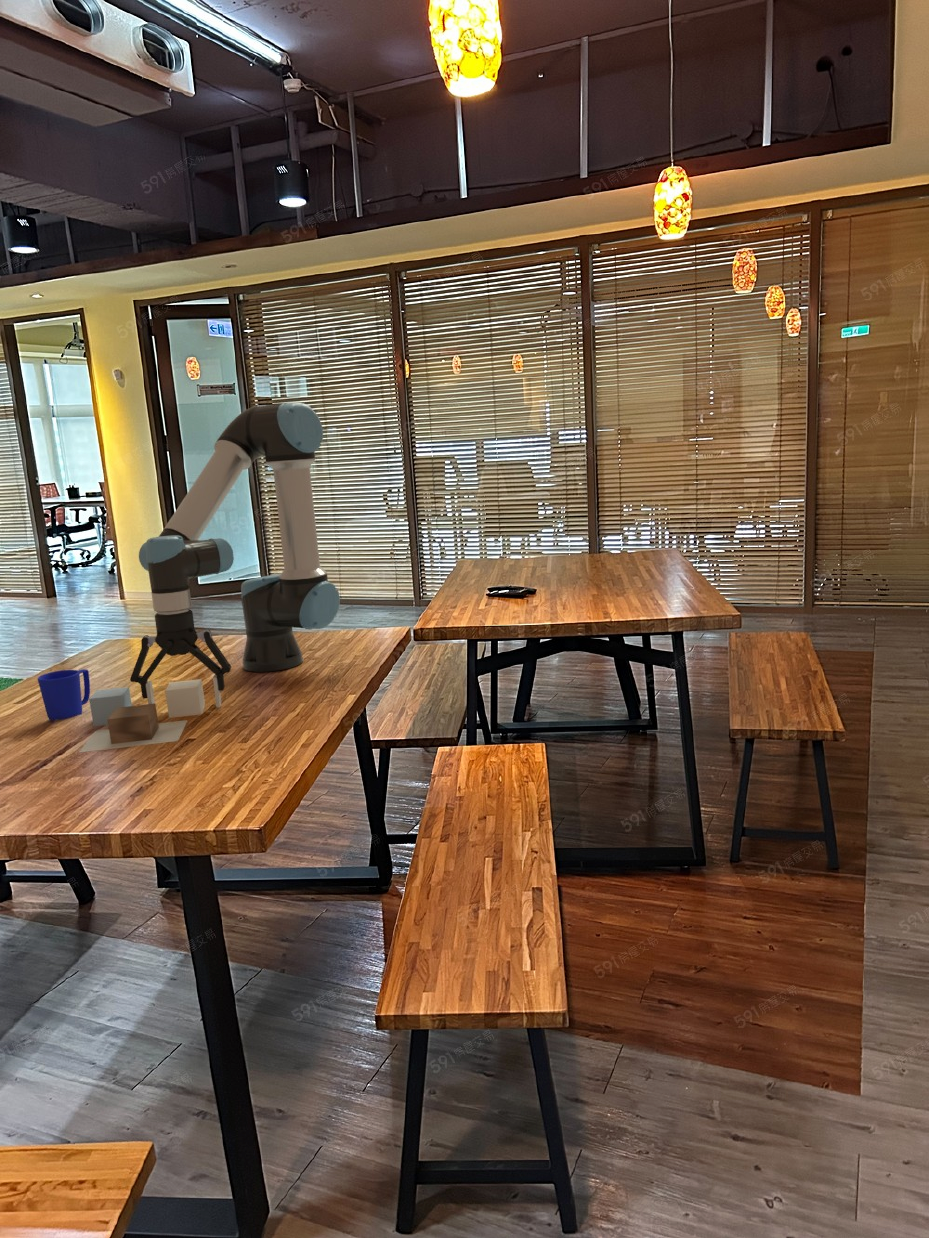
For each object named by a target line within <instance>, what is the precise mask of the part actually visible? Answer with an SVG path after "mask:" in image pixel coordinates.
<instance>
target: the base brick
mask: <svg viewBox="0 0 929 1238" xmlns="http://www.w3.org/2000/svg"><path fill="white" fill-rule="evenodd" d="M156 706H157V705H156V703H155V704H148V703H147V704H139V705H138V704H137V705H132V706H129V707H120V708H116V709H115V710H114V711H113V713H112V714H111V715H110V717H109V718H108V719H107V721H108V725H107V726H108V729H109V733H110V739H111V744H117V743H126V742H134V741H143V740H151V739H152V738H153V737H154V735H155V733H156V731H157V730H158V728H159V725H158V723H159V720H158V712H157V707H156Z"/></svg>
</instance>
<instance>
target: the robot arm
mask: <svg viewBox="0 0 929 1238" xmlns="http://www.w3.org/2000/svg"><path fill="white" fill-rule="evenodd" d="M323 430H324V429H323V425H322V422H321V419H320V417H319V416H318V414H317V412H315V411H314V410H313V408H312V407H311V406H309V405H308V404H306V403H303V402H296V401H295V402H290V401H287V402H282V403H275V404H267V405H256V406H252V407H249V408H247V409H245V410H244V411H242V412H241V413H240V414H238V415H237V416H236V417H235V418H234V419H232V421H231V422H230V423H229V424H228V425H227V426H226V428H224V430H223V431H222V433H221V434H220V435H219V436H218V439H217V440H216V442H215V443H214V444H213V445H214V446H213V449H214V453H213V454H212V456H211V457H210V458H209V460H208V461H207V463H206V464H205V466H204V467H203V469H202V471H201V472H200V474H199V475H198V476H197V479H196V480H195V481H194V482H193V484H192V486H191V487H190V489H189V490H188V492H187V493H186V495H185V496H184V498H183V499H182V501H181V502H180V504H179V505H178V507H177V509H176V510H175V512H174V513H173V514H172V516H171V518H170V519H169V520H168V522H167V524H166V525H165V527H164V528H163V529H162V531H161V533H160V534H159V535H158V536H155V537H150V538H148V539H147V540H146V542H144V543H143V544H142V545H141V546H140V547H139V551H138V561H139V563H140V565H141V566H142V568H143V569H144V571H147V572H148V576H149V583H150V590H151V599H152V607H153V612H155V614H154V623H155V628H156V629H155V630H156V636H149V635H147V634H146V635H144V636H143V637H142V638H141V648H140V652H139V654H138V656H137V660H136V662H135V665H134V668H133V670H132V673H131V675H130V677H129V681H130V682H131V683H138V684H139V685H140V690H141V691H140V692H141V697H142V699H143V700H144V699H147V704H156V701H155V694H154V687H153V680H149V679H150V677H151V676H152V674H153V673H154V672H155V670H156V668H157V667H159V664H160V663H161V662H162V660H163V659H164V658H165V656H166V655H168V656H170V657H173V656H174V657H175V656H178V655H181V656H184V655H185V656H186V655H187V654H189V653H190V655H191V656H193V657H195V658H196V659H197V660H199V662H200V663H202V664H203V665H204V666H205V667H206V668H207V669H209V670H210V672H212V673H213V677H212V681H213V683H212V684H213V689H214V698H215V707H216V708H220V707H221V705H222V697H221V691H224V690H225V686H226V685H225V679H224V678H225V677H224V675H225V674H227V673H231V669H232V665H231V664H230V662H229V661H228V659H227V658H226V656H225V655H224V653H223V652H222V651H221V649H220V648H219V646H218V645H217V643H216V641H215V640H214V639H213V635H212V631H211V630H210V629H206V630H204V631H200V632H197V630H196V629H195V628H196V627H195V623H194V622H195V621H194V614H193V612H194V611H192V609H191V608H192V604H193V603H192V599H191V598H192V597H191V591H190V579H194V578H199V577H205V576H211V575H219V574H220V573H224V572H227V571H229V570H230V569H231V568H232V567H233V564H234V559H235V557H234V550H233V548H232V546H231V544H230V543H229V542H228V541H227V540H225V539H224V538H221V537H220V538H208V539H201V540H199V539H200V538H201V536H202V534H203V533H204V532H205V530H206V528H207V526H208V525H209V524H210V522H211V520H212V519H213V517H214V515H216V512H217V511H218V510H219V508H220V506H221V504H222V503H223V501H224V500H225V498H226V496H227V495H228V493H230V491H231V490H232V488H233V486H234V484H235V483H236V481H237V480H238V478H239V477H240V475H241V474H242V472H243V470H248V469H250V467H251V465H252V464H253V463H254V461H256V460H257V459H259V458H260V457H262V456H264V458H265V463H266V464H267V465H268V467H270V468H271V469H272V470H273V479H274V488H275V496H276V506H277V507H276V508H277V514H278V523H279V531H280V539H281V549H282V550H281V551H282V557H283V558H282V560H283V567H284V568H283V571H282V572H281V573H277V574H269V575H265V576H261V577H255V578H251V579H247V580H245V581H243V582H242V583H241V585H240V591H241V592H240V594H241V595H240V598H241V606H242V611H243V619H244V625H245V627H244V628H245V634H246V641H245V645H244V651H243V655H242V667H243V670H245V671H248V672H255V673H265V672H266V673H267V672H268V673H269V672H276V671H282V670H286V669H287V670H288V669H290V668H294V667H297V666H298V665H301V664H302V663H303V661H304V659H303V652H302V649H301V647H300V646H299V643H298V642H297V639H296V637H295V634H294V632H293V628H297V629H304V630H320V629H324V628H327V627H328V626H330V624H331V623H332V622H333V621H334V620H335V617H337V614H338V612H339V609H340V605H341V604H340V603H341V601H340V600H341V599H340V593H339V590H338V588H337V587H336V585H335V584H334V583H332V582H330V581H329V578H328V572H327V570H325V569H324V568H323V567H322V566H321V563H320V554H319V553H320V552H319V544H318V536H317V535H318V534H317V526H316V516H315V507H314V497H313V496H314V495H313V488H312V486H313V485H312V476H311V466H312V464H314V463H315V461H316V453H315V452H316V451H318V450H319V448H320V447H321V446H322V444H321V443H322V442H323V439H324V431H323ZM198 639H200V640H201V641H202V642H203V643H205V646H207V648H208V649H209V650H210V652H211V654H212V655H213V657H214V658H215V659H216V661H217V662H218V664H219V665H220V666H219V665H218V664H217V663H216V662H215V661H214V660H213V659H211V658H210V657H209V656H208V655H207V654H206V653H205V652H203V651H202V650H201V648H200V647H199V646H198V645H197V644H196V642H197V640H198ZM154 643H155V644H157V646H159V647H160V649H161V650H159V653H158V654H157V655H156V657H155V658H154V659H153V661H152V662H151V664H150V665H149V667H148V668H147V669H146V670H145V672H144V673H143V675H141V671H142V669H143V666H144V663H145V662H146V658H147V656H148V653H149V650H150V648H151V647H153V646H154Z"/></svg>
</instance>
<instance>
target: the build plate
mask: <svg viewBox="0 0 929 1238" xmlns="http://www.w3.org/2000/svg"><path fill="white" fill-rule="evenodd" d="M188 721H189V720H188V719H186V720H178V721H176V720H175V721H169V722H168V721H167V722H160V723H159V722H158V725H159V728H158V730H157V731H156V733H155V735H154V737H153V738H152V739H151V740H143V741H134V742H126V743H117V744H111V739H110V733H109V728H107V729H98V730H95V731H94V732H93V734H92V735H91V736H90V737H89V739H88V740H87V741H86V743H84V745H83V746H82V747H81V749H80V750H79V752H78V753H88V752H96V751H103V750H105V751H106V750H114V749H120V748H122V749H123V748H130V747H138V746H146V745H147V746H148V745H155V744H156V745H157V744H164V743H171V742H173V743H174V742H178V741H179V740H180V737H181V735H182V733H183V732H184V729H185V727H186V725H187V723H188Z"/></svg>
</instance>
